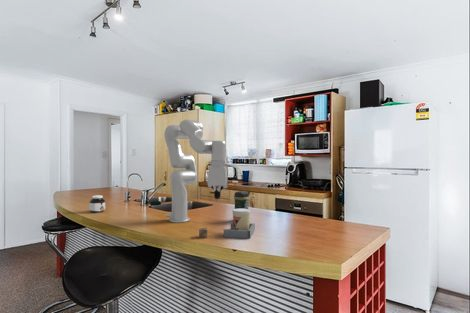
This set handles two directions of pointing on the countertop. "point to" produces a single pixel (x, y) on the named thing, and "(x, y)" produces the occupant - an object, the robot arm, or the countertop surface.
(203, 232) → the walnut block
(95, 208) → the spread jar
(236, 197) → the coffee jar
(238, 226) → the coffee cup
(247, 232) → the tray
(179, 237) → the countertop surface
